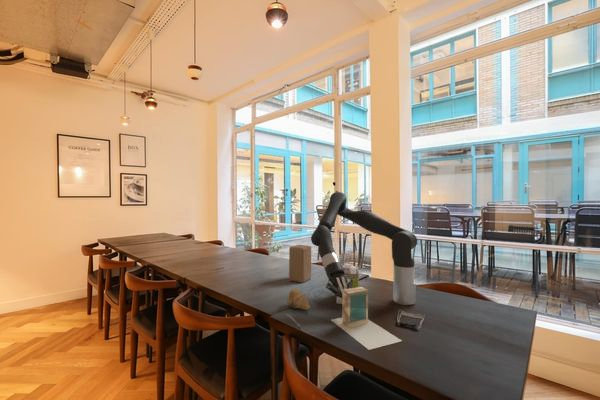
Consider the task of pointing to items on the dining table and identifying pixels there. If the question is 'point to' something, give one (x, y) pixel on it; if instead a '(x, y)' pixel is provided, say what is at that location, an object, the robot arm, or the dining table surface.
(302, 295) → the seashell
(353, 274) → the tea box
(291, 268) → the wooden block
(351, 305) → the maple slab
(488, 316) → the dining table surface
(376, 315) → the dining table surface
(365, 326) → the felt mat
